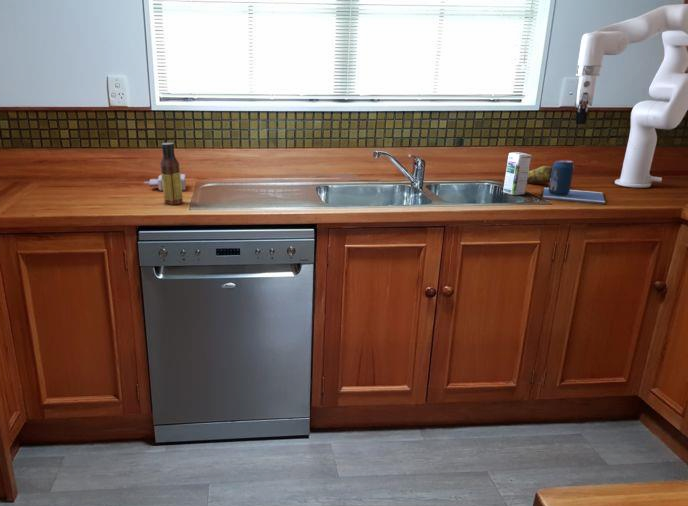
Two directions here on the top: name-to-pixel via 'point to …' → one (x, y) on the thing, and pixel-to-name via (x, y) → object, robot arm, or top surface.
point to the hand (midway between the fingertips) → (579, 122)
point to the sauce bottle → (171, 176)
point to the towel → (577, 196)
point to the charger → (159, 182)
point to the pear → (540, 175)
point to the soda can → (561, 177)
